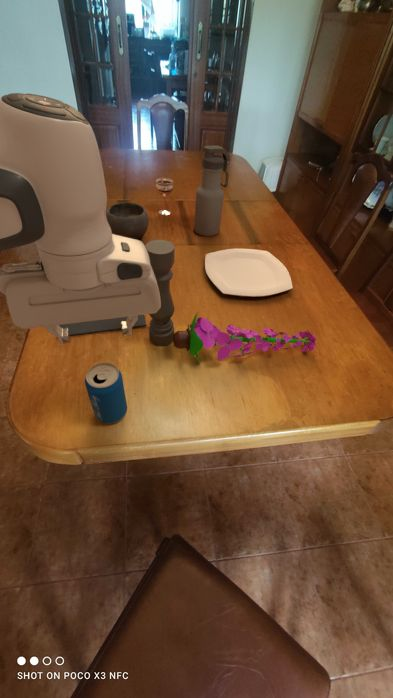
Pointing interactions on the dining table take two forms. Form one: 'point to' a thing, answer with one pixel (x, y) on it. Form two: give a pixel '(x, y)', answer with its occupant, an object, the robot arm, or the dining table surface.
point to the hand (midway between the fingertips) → (97, 336)
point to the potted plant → (234, 339)
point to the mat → (100, 325)
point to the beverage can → (106, 392)
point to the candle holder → (162, 291)
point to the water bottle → (211, 191)
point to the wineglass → (164, 191)
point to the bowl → (127, 219)
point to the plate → (247, 272)
